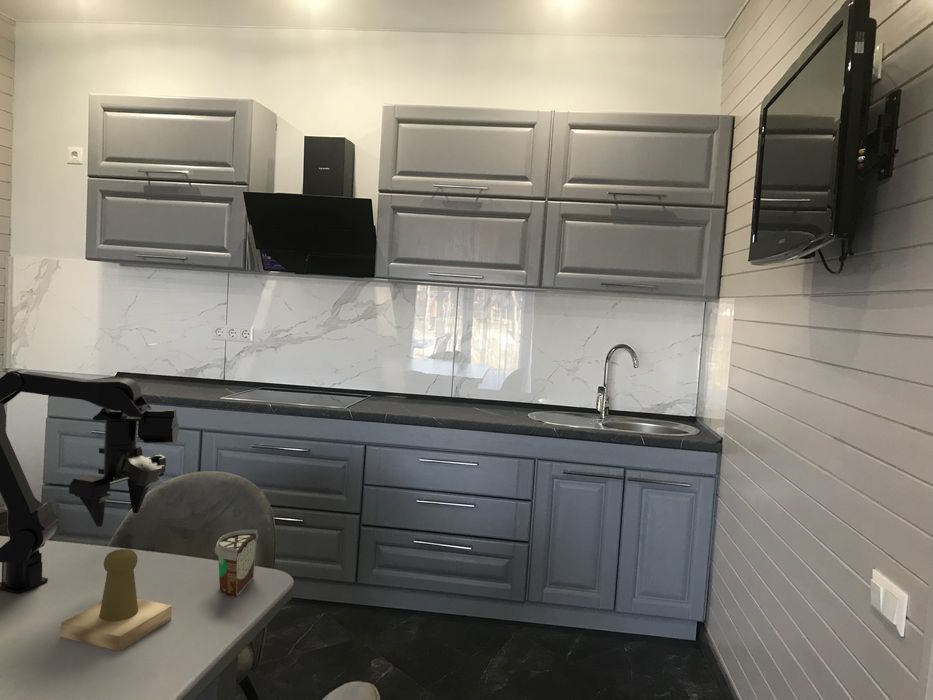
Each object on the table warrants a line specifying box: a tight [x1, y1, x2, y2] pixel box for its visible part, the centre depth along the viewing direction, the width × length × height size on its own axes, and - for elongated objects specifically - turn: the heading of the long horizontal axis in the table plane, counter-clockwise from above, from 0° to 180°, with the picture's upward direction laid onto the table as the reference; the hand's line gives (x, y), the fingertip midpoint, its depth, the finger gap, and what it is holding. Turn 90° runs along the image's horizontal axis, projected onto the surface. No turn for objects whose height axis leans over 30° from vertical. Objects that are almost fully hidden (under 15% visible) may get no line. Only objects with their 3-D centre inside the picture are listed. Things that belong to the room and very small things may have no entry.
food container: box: [214, 529, 259, 598], centre depth 133 cm, size 12×6×10 cm, turn 178°
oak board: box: [60, 597, 173, 652], centre depth 114 cm, size 12×12×2 cm
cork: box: [99, 548, 139, 621], centre depth 114 cm, size 6×6×11 cm
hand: (118, 519), depth 130 cm, fingers open, 9 cm apart
